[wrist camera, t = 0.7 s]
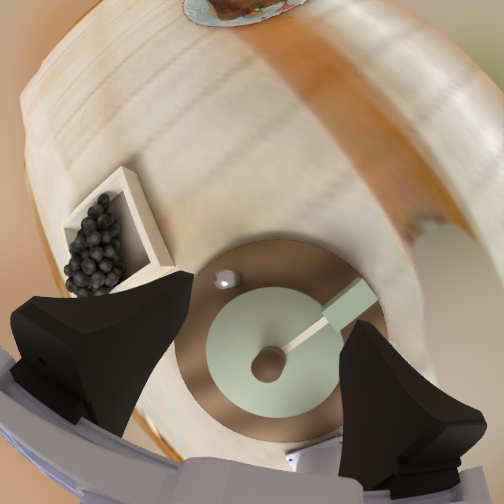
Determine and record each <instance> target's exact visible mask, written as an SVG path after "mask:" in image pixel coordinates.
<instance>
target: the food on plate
mask: <svg viewBox="0 0 504 504" xmlns="http://www.w3.org/2000/svg"><path fill="white" fill-rule="evenodd" d="M308 1H309V0H184V2H183V3H182V4H183V6H182V7H183V9H184V13H185V14H184V15H186V16H187V18H188V19H189V20H193V21H194V22H195V23H196V24H199V25H203V26H204V25H206V26H208V27H211V26H224V27H228V26H231V27H237V26H239V25H250V24H254V23H259V22H261V21H262V20H264V19H262V20H260V19H261V17H266V18H265V19H268V18H270V17H272V16H275V15H278V14H280V13H281V12H284V11H286V10H289V9H291V8H293V7H294V6H297V5H298V4H301V5H303V4H304V3H305V2H308ZM209 5H210V6H211V7H213V8H214V9H215V10H216V12H217V15H216V16H214V15H213V14H212V13H208V12H207V11H208V9H209ZM252 11H257V12H259V11H264V12H263V13H262V14H256V15H254V16H248V15H249V14H250V13H251V12H252ZM291 18H292V17H290V18H289V19H291Z"/></svg>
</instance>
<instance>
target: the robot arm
mask: <svg viewBox="0 0 504 504" xmlns="http://www.w3.org/2000/svg"><path fill="white" fill-rule="evenodd" d="M193 278H194V274H191V273H188V272H185V271H181V270H180V271H177V272H174V273H172V274H169V275H167V276H164V277H162V278H159V279H157V280H154V281H151V282H149V283H146V284H143V285H140V286H137V287H134V288H131V289H128V290H124V291H120V292H116V293H111V294H106V295H99V296H91V297H81V298H52V297H40V296H34V297H32V298H31V299H30V300H28V301H27V302H26V303H24V304H23V305H22V306H20V307H19V308H17V309H16V310H15V311H14V312H12V314H11V317H10V318H11V319H10V320H11V321H10V323H11V329H12V333H13V335H14V339H15V341H16V344H17V347H18V350H19V352H20V355H21V357H22V358H21V359H20V360H19V361H18V362H17V363H16V361H15V360H14V358H13V357H12V356H11V355H10V354H9V353H8V352H7V351H5V350H4V349H3V348H2V347H1V346H0V435H1V436H2V437H3V438H4V439H5V440H6V441H7V442H8V443H9V444H10V445H11V446H12V447H13V448H14V449H15V450H16V451H18V452H19V453H20V454H21V455H22V456H23V457H24V458H25V459H27V460H28V461H29V462H30V463H31V464H33V465H34V466H35V467H36V468H37V469H39V470H40V471H41V472H42V473H44V474H45V475H46V476H47V477H49V478H50V479H52V480H53V481H54V482H56V483H57V484H58V485H60V486H61V487H63V488H64V489H66V490H67V491H68V492H70V493H71V494H73V495H75V496H76V497H78V498H79V499H81V501H80V503H79V504H492V503H491V498H490V494H489V490H488V486H487V483H486V479H485V475H484V472H483V469H482V466H478V467H474V468H471V469H467V470H464V471H462V472H460V473H458V470H457V467H459V466H460V465H461V459H460V457H461V456H462V455H463V454H465V453H466V452H467V451H468V450H469V449H470V448H471V447H473V446H474V445H475V444H476V443H477V442H478V441H479V440H480V439H481V438H482V436H483V435H484V433H485V431H486V429H487V423H486V421H485V419H484V416H483V414H482V413H481V411H479V410H477V409H474V408H472V407H470V406H468V405H465V404H463V403H461V402H459V401H458V400H456V399H454V398H452V397H451V396H449V395H447V394H446V393H444V392H443V391H441V390H440V389H438V388H437V387H436V386H434V385H433V384H431V383H430V382H429V381H428V380H426V379H425V378H424V377H423V376H422V375H421V374H419V373H418V372H417V371H416V370H415V369H414V368H413V367H412V366H411V365H410V364H409V363H408V362H407V361H406V360H405V359H404V358H403V357H402V356H401V355H400V354H399V353H398V352H397V351H396V350H395V349H394V347H393V346H392V345H391V344H390V343H389V342H388V341H387V340H386V338H385V337H384V336H383V335H382V334H381V333H380V332H379V331H378V330H377V328H376V327H375V326H374V325H372V324H371V323H370V322H367V321H363V320H359V319H357V321H356V323H355V325H354V327H353V329H352V331H351V333H350V335H349V337H348V339H347V341H346V343H345V344H344V346H343V348H342V350H341V352H340V354H339V381H340V390H341V399H342V409H343V437H342V436H337V437H335V438H332V439H330V440H327V441H324V442H322V443H319V444H316V445H313V446H310V447H308V448H305V449H301V450H298V451H295V452H292V453H289V454H286V456H285V459H286V460H287V462H288V463H289V464H290V466H291V467H292V469H293V470H294V472H289V471H282V470H276V469H270V468H265V467H259V466H254V465H250V464H245V463H241V462H236V461H232V460H226V459H220V458H214V457H192V458H188V459H186V460H185V461H184V462H182V463H180V462H177V461H174V460H171V459H169V458H166V457H163V456H161V455H158V454H156V453H153V452H151V451H148V450H146V449H144V448H141V447H139V446H137V445H135V444H132V443H130V442H128V441H126V440H124V439H122V436H123V433H124V430H125V428H126V426H127V423H128V421H129V419H130V416H131V414H132V412H133V409H134V407H135V405H136V403H137V401H138V399H139V397H140V394H141V392H142V390H143V388H144V386H145V384H146V382H147V380H148V378H149V376H150V375H151V373H152V371H153V369H154V368H155V366H156V365H157V363H158V362H159V360H160V359H161V357H162V356H163V354H164V353H165V352H166V350H167V349H168V347H169V346H170V344H171V343H172V341H173V340H174V339H175V337H176V336H177V334H178V333H179V331H180V329H181V327H182V325H183V323H184V321H185V319H186V317H187V315H188V313H189V305H190V298H191V291H192V285H193ZM340 441H342V443H339V442H340ZM290 459H292V460H290Z"/></svg>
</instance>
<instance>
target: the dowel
mask: <svg viewBox="0 0 504 504" xmlns="http://www.w3.org/2000/svg"><path fill="white" fill-rule="evenodd" d="M242 281H243V276H242V274H241V272H239V271H237V270H221V271H218V272H216V273H215V275H214V277H213V282H214V284H215V286H216V287H217V288H219V289H226V288H231V287H235V286H239V285H240V284H241V283H242Z"/></svg>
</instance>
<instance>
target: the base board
mask: <svg viewBox="0 0 504 504" xmlns="http://www.w3.org/2000/svg"><path fill="white" fill-rule="evenodd" d="M221 270H237V271H239V272H241V274H242V276H243V281H242V283H241V284H240V285H239V286H235V287H231V288H226V289H219V288H217V287H216V286H215V284H214V282H213V277H214V275H215V273H216V272H218V271H221ZM357 277H359V278H362V279H363V277H362V276H361V275H360V274H359V273H358V272H357V271H356V270H355V269H354V268H353V267H352V266H351V265H349V264H348V263H347V262H345V261H344V260H342V259H341V258H339V257H338V256H336V255H335V254H333V253H331V252H329V251H327V250H325V249H323V248H320V247H317V246H314V245H311V244H308V243H303V242H299V241H293V240H279V239H278V240H263V241H258V242H253V243H249V244H246V245H243V246H240V247H237V248H235V249H233V250H231V251H229V252H227V253H225V254H223V255H221V256H220V257H218V258H217V259H215V260H214V261H213V262H211V263H210V264H209V265H208V266H207V267H206V268H205V269H203V270H202V271H201V272H200V274H199V275H198V276H197V277H196V278H195V280H194V281H193V285H192V291H191V298H190V305H189V313H188V315H187V317H186V319H185V321H184V323H183V325H182V327H181V329H180V331H179V333H178V334H177V336H176V337H175V339H174V344H175V354H176V358H177V363H178V367H179V370H180V372H181V375H182V378H183V380H184V382H185V384H186V386H187V388H188V390H189V391H190V393H191V394H192V396H193V397H194V399H195V400H196V401H197V402H198V404H199V405H200V406H201V407H202V408H203V409H204V410H205V411H206V412H207V413H208V414H209V415H210V416H211V417H212V418H214V419H215V420H216V421H218V422H219V423H221V424H222V425H224V426H225V427H227V428H229V429H231V430H232V431H234V432H237V433H239V434H241V435H244V436H246V437H250V438H253V439H256V440H261V441H267V442H277V443H290V442H300V441H305V440H310V439H313V438H317V437H320V436H323V435H325V434H327V433H329V432H332V431H334V430H336V429H337V428H339V427H340V426H342V425H343V409H342V399H341V390H340V381H338V384H337V385H336V387H335V388H334V390H333V391H332V393H331V394H330V395H329V396H328V397H327V398H326V399H325V400H324V401H323V402H322V403H320V404H319V405H318V406H316V407H315V408H313V409H311V410H309V411H307V412H305V413H302V414H299V415H296V416H291V417H284V418H271V417H264V416H259V415H256V414H253V413H250V412H248V411H246V410H244V409H242V408H240V407H238V406H237V405H235V404H234V403H232V402H231V401H230V400H229V399H228V398H227V397H226V396H225V395H224V394H223V393H222V392H221V391H220V389H219V388H218V387H217V385H216V384H215V382H214V380H213V378H212V376H211V374H210V371H209V368H208V364H207V358H206V342H207V336H208V333H209V329H210V327H211V325H212V323H213V321H214V319H215V317H216V316H217V314H218V313H219V312H220V311H221V310H222V308H223V307H224V306H226V305H227V304H228V303H229V302H230V301H232V300H233V299H235V298H236V297H238V296H240V295H242V294H244V293H246V292H249V291H252V290H255V289H260V288H264V287H284V288H289V289H294V290H297V291H300V292H302V293H304V294H307V295H309V296H310V297H312V298H314V299H315V300H317V301H318V302H319V303H320V304H322V305H324V304H326V303H327V302H328V301H329V300H331V299H332V298H333V297H334V296H336V295H337V294H338V293H339V292H341V291H342V290H343V289H344V288H345V287H347V286H348V285H349V284H350V283H351V282H353V281H354V280H355V279H356V278H357ZM364 281H365V280H364ZM365 282H366V281H365ZM366 283H367V282H366ZM367 285H368V284H367ZM368 286H369V285H368ZM369 287H370V286H369ZM370 289H371V287H370ZM371 290H372V289H371ZM357 319H359V320H363V321H367V322H370V323H371V324H372V325H374V326H375V327H376V328H377V330H378V331H379V332H380V333H381V334H382V335H383V336H384V337H385V338H386V340H387V341H388V337H387V327H386V323H385V319H384V315H383V312H382V309H381V307H380V304H379V302H378V300H377V301H376V302H375V303H374V304H372V305H371V306H370V307H369V308H368V309H366V310H365V311H364V312H363V313H362V314H360V315H359V316H358V317H357V318H355V319H354V320H353V321H352V322H350V323H349V324H348V325H347V326H345V327H344V328H343V329H341V330H340V332H341V335H342V338H343V343H344V344H345V343H346V341H347V339H348V337H349V335H350V333H351V331H352V329H353V327H354V325H355V323H356V321H357ZM285 364H286V355H285V353H284V352H283V350H281V349H280V348H278V347H276V346H267V347H265V348H263V349H262V350H261V351H260V352H259V353H258V355H257V356H256V357H255V358H254V360H253V361H252V364H251V372H252V374H253V376H254V377H255V378H256V379H257V380H259V381H261V382H264V383H271V382H274V381H276V380H277V379H279V377H280V376H281V374H282V372H283V369H284V367H285Z"/></svg>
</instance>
